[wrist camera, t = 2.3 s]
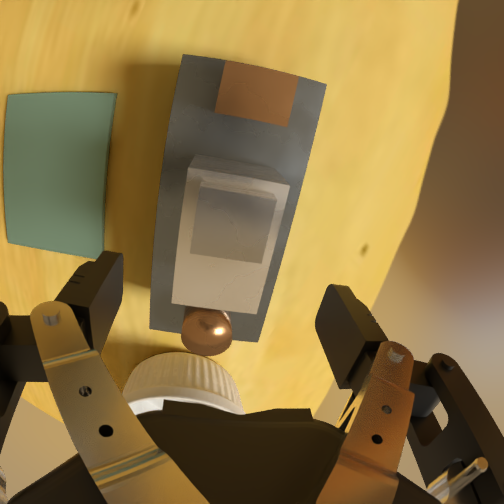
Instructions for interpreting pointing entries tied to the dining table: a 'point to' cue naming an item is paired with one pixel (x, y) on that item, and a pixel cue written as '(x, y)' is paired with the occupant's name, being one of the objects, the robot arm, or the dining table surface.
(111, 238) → the dining table surface
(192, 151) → the plane body
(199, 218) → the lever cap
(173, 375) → the ramekin
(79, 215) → the mat
